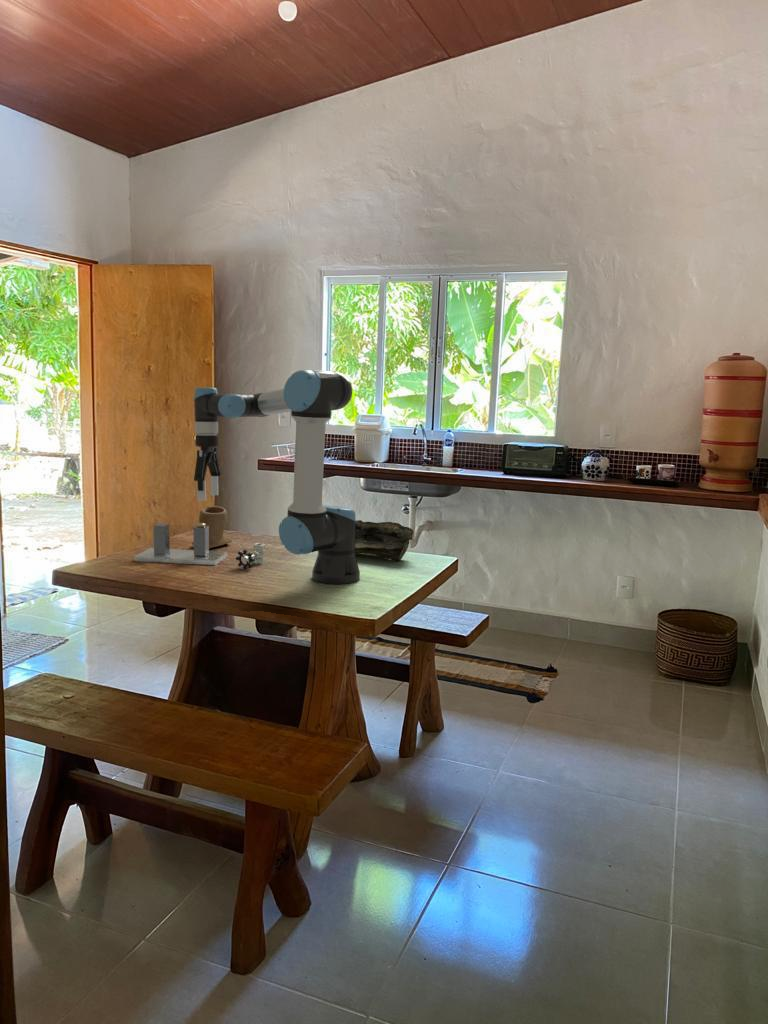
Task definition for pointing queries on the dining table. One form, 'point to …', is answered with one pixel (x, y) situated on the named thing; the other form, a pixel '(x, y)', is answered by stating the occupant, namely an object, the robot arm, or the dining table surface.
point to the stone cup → (215, 525)
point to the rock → (382, 539)
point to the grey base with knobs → (175, 551)
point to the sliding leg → (201, 539)
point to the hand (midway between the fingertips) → (208, 497)
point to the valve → (252, 556)
